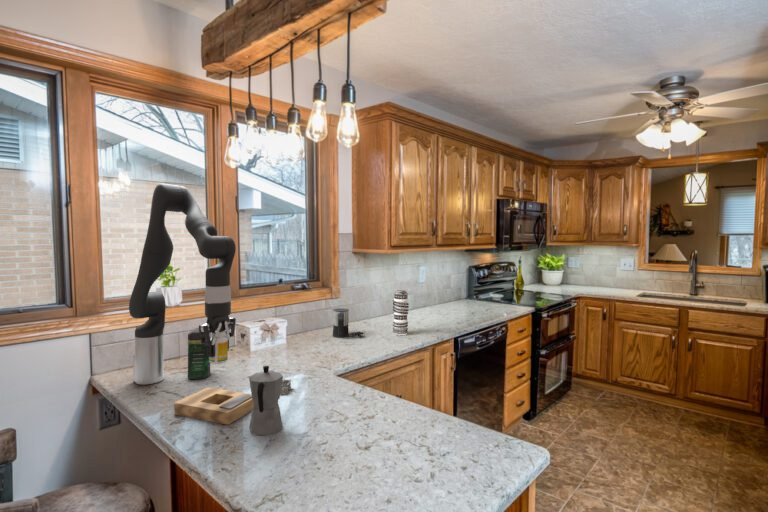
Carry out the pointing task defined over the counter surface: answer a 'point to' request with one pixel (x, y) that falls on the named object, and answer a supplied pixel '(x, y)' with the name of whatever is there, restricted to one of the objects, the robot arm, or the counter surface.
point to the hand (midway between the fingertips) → (218, 353)
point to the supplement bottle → (220, 349)
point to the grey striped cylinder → (400, 312)
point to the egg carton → (285, 386)
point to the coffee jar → (197, 356)
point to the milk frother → (342, 323)
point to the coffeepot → (265, 402)
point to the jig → (206, 408)
